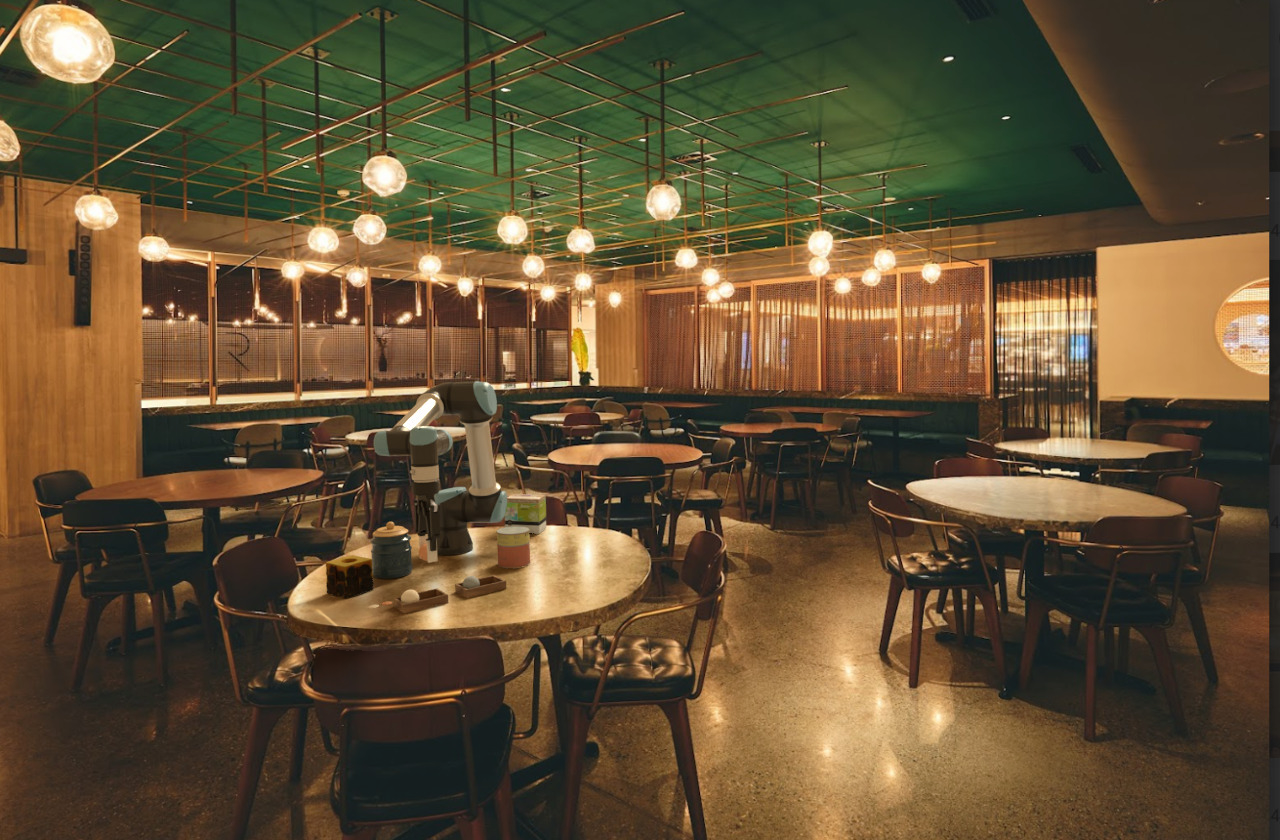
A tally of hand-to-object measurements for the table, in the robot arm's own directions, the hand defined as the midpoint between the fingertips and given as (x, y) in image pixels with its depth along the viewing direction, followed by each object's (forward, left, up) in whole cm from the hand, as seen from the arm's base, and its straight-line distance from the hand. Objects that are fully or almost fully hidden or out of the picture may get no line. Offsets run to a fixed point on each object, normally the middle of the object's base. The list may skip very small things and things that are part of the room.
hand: (428, 559), depth 207 cm
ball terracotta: (0, 0, 0) cm, 0 cm away
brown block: (-28, -14, -14) cm, 34 cm away
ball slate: (0, +13, -13) cm, 18 cm away
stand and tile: (-10, -4, -13) cm, 17 cm away
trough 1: (0, -3, -13) cm, 14 cm away
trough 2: (0, +16, -13) cm, 21 cm away
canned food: (-20, +39, -14) cm, 46 cm away
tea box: (-59, +67, -14) cm, 90 cm away
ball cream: (0, -6, -13) cm, 14 cm away
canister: (-38, +3, -14) cm, 40 cm away
